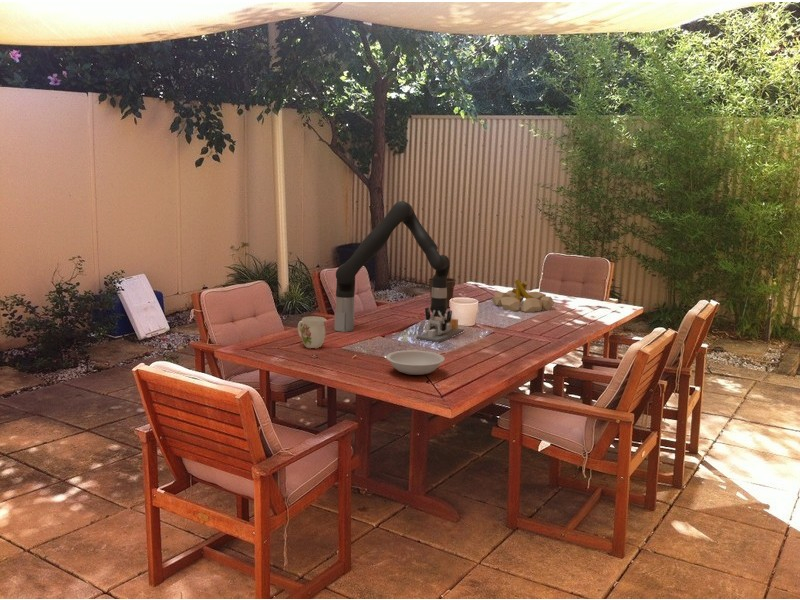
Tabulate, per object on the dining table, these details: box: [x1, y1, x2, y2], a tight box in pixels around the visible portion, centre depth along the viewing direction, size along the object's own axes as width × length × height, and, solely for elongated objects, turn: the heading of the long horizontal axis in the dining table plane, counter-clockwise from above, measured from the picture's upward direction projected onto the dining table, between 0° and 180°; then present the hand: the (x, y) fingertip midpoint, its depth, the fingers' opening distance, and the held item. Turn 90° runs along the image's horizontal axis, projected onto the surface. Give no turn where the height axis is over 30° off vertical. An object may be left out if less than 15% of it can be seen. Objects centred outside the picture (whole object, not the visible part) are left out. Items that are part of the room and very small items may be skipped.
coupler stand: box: [415, 318, 465, 343], centre depth 387 cm, size 28×12×6 cm, turn 150°
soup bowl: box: [385, 349, 446, 376], centre depth 321 cm, size 24×24×7 cm
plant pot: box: [427, 277, 456, 309], centre depth 461 cm, size 16×16×16 cm
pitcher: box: [297, 315, 327, 349], centre depth 358 cm, size 11×18×14 cm, turn 50°
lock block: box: [427, 316, 448, 335], centre depth 384 cm, size 10×6×7 cm, turn 150°
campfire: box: [491, 279, 555, 313], centre depth 466 cm, size 35×34×17 cm
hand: (437, 329), depth 384 cm, fingers closed on lock block, 6 cm apart
